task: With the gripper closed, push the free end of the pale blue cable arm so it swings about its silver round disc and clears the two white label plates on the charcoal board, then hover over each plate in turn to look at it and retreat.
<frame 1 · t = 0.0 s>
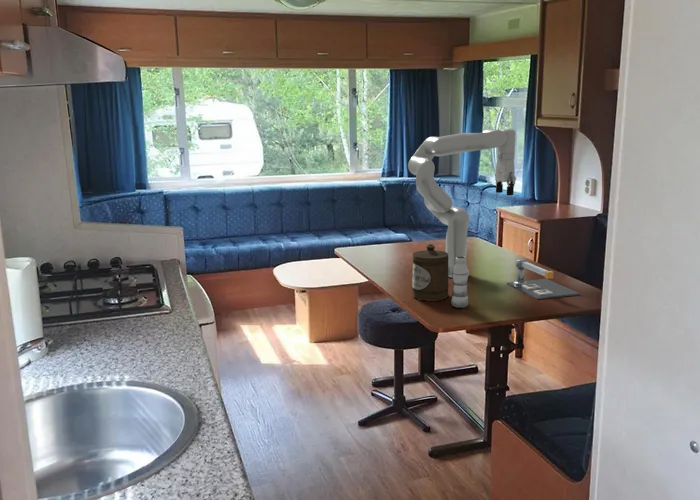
hand: (504, 193, 297), 37 cm above the table, tool pointing down, fingers open, 9 cm apart
wooden container: (430, 296, 265), on the table
label plate a: (530, 289, 274), resting on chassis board
label plate b: (542, 294, 265), resting on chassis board
plastic bottle: (459, 307, 251), on the table
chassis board: (541, 289, 273), on the table
silver round disc: (520, 285, 280), resting on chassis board
cable arm: (533, 268, 269), point 10 cm above the table, hinge at 0.0°
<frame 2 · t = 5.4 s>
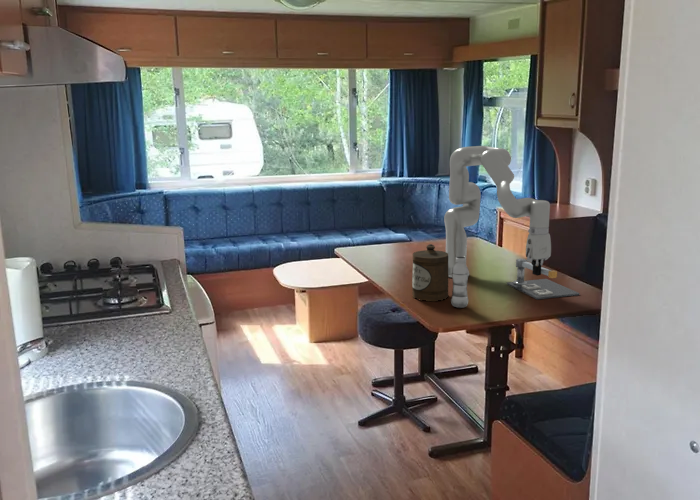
hand: (536, 274, 264), 9 cm above the table, tool pointing down, fingers closed
cable arm: (535, 268, 269), point 10 cm above the table, hinge at 4.7°, touching gripper
everything else where it was.
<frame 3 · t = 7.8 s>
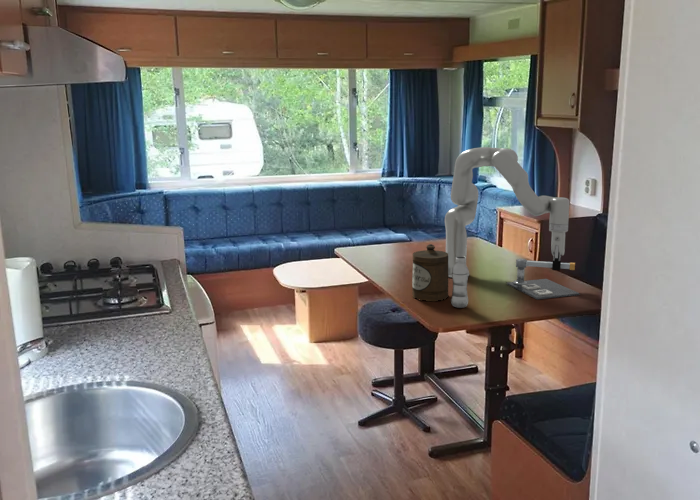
hand: (556, 269, 271), 9 cm above the table, tool pointing down, fingers closed
cable arm: (545, 264, 275), point 10 cm above the table, hinge at 54.2°, touching gripper
everything else where it was.
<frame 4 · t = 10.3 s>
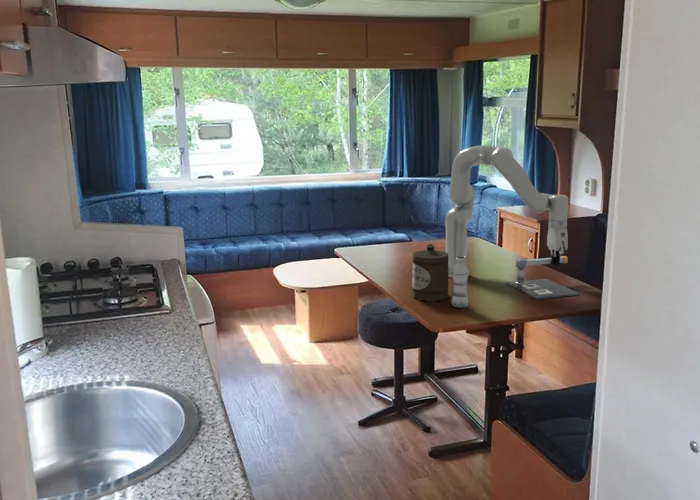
hand: (555, 264, 279), 9 cm above the table, tool pointing down, fingers closed
cable arm: (541, 261, 280), point 10 cm above the table, hinge at 88.1°, touching gripper
everything else where it was.
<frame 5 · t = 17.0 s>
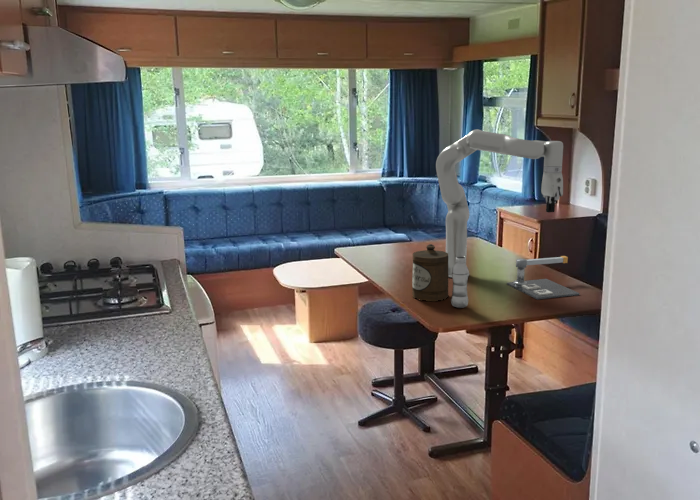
hand: (550, 211, 280), 31 cm above the table, tool pointing down, fingers closed
cable arm: (541, 261, 280), point 10 cm above the table, hinge at 88.2°
everything else where it was.
at the end: cable arm at +88° (first picture: +0°); plastic bottle moved 0.2 cm from its start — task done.
